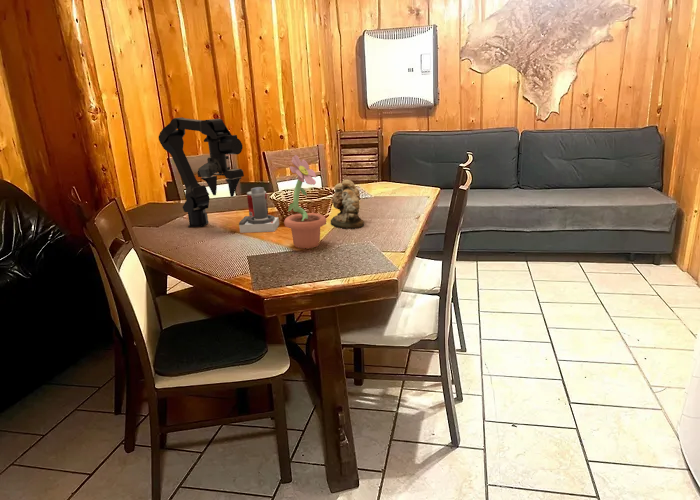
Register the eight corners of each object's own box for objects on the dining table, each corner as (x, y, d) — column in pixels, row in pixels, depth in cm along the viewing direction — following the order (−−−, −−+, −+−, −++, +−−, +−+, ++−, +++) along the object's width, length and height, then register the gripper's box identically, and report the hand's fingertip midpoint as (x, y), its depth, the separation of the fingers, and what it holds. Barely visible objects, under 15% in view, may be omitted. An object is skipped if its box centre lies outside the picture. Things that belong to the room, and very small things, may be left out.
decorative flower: (316, 254, 157) (309, 158, 148) (277, 251, 162) (268, 158, 153) (334, 240, 170) (328, 152, 161) (297, 238, 175) (290, 152, 166)
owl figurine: (323, 221, 198) (320, 178, 193) (349, 217, 202) (347, 175, 197) (342, 231, 182) (340, 184, 177) (371, 226, 187) (369, 181, 182)
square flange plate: (240, 232, 187) (238, 221, 185) (246, 225, 196) (245, 215, 195) (274, 231, 186) (273, 220, 185) (279, 224, 195) (278, 214, 194)
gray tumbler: (256, 223, 187) (252, 190, 183) (253, 220, 191) (249, 188, 188) (269, 221, 189) (265, 188, 185) (265, 218, 193) (262, 186, 189)
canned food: (265, 220, 203) (262, 193, 200) (246, 220, 205) (243, 194, 201) (271, 216, 210) (269, 190, 207) (253, 216, 212) (250, 190, 209)
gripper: (183, 156, 183) (189, 198, 187) (219, 157, 173) (225, 201, 177) (206, 152, 191) (212, 193, 196) (242, 153, 182) (247, 195, 186)
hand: (223, 195), depth 189 cm, fingers open, 9 cm apart
